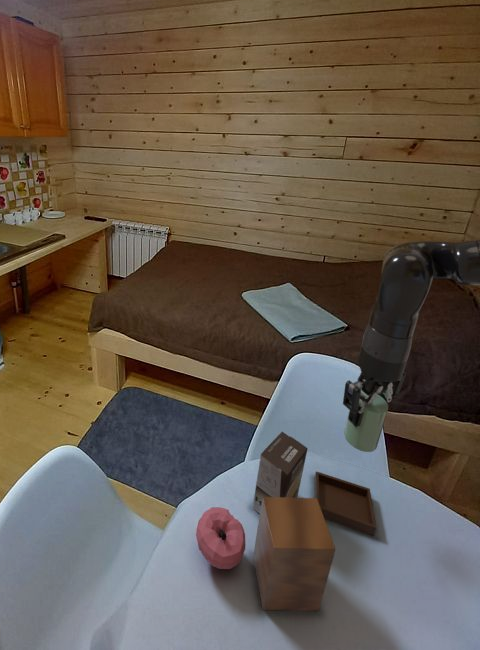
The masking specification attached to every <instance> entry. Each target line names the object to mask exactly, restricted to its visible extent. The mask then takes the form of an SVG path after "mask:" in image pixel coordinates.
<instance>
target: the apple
mask: <svg viewBox="0 0 480 650" xmlns="http://www.w3.org/2000/svg"><path fill="white" fill-rule="evenodd" d="M197 522H198V523H197V526H196V531H195V537H196V541H197V545H198V546H197V547H198V550H199V552H200V553H201V554H202V556H203V558H204V559H205V560H206V561H207V562H208V563H209V565H210V566H212V567H214V568H217V569H219V570H231V569H233V568H235V567H236V566H237V565H239V564H240V563H241V561H242V558H243V556H244V553H245V551H246V533H245V529H244V527H243V524H242V523H241V522H240V520H238V519H237V518H235V517H234V515H232V514H231V513H230V510H229V509H228V508H224V507H221V506H217V507H215V506H212V507H210V508H209V509H207V510H205V511H203V513H202V515H201V517H199V519H198V521H197Z"/></svg>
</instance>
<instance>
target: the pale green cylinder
mask: <svg viewBox="0 0 480 650" xmlns="http://www.w3.org/2000/svg"><path fill="white" fill-rule="evenodd" d="M361 393H362V394H363V395H364V396H365V397H366V398H368V397H369V396H368V395H367V394H365V393H364V392H363V391H362V390H361ZM361 403H362V400H361V399H360V400H359V405H361ZM388 411H389V404H387V402H386V401H385V400H384V399H383V398H382V397H381V396H380V395H377V396H376V397H375V399H374V401H373V402H372V404H370V405H369V404H368V405H367V406H366V408H365V410H364V411H363V416H362V420H361V424H360V426H358V427H355V426H354V425H353V424H352V423H351V422H350V421H349V420H348V416H349V412H350V410H349V409H348V414H347V417H346V422H345V426H344V430H343V436H344V438H345V440H346V442H347V443H348V444H349V445H350V446H351V447H353V448H354V449H356V450H358V451H360V452H363V453H371V452H375V451H376V450H377V449H378V446H379V445H378V444H379V441H380V438H381V435H382V431H383V428H384V426H385V425H384V424H385V421H386V418H387V414H388Z"/></svg>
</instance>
